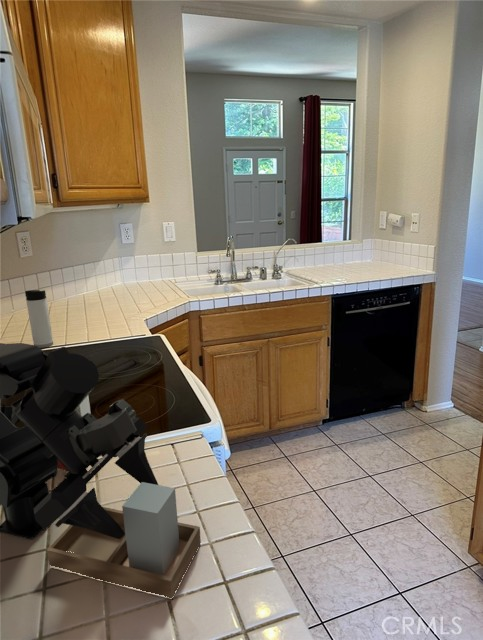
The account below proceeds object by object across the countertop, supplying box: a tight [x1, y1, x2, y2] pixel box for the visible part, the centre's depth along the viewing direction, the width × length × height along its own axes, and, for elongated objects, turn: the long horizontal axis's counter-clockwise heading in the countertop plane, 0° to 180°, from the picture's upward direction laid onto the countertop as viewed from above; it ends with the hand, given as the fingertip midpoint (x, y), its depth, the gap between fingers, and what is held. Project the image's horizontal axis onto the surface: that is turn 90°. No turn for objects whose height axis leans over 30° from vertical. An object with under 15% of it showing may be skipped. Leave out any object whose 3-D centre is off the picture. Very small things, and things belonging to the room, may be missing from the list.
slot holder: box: [46, 506, 202, 598], centre depth 60 cm, size 18×9×3 cm, turn 73°
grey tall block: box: [121, 482, 180, 576], centre depth 58 cm, size 5×5×10 cm
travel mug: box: [24, 289, 54, 349], centre depth 149 cm, size 6×7×20 cm
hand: (141, 511), depth 58 cm, fingers open, 9 cm apart
